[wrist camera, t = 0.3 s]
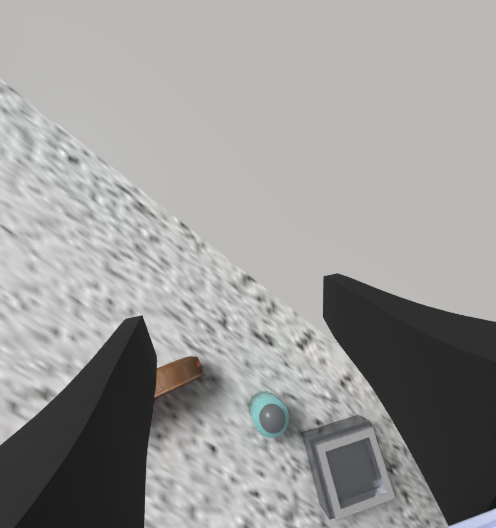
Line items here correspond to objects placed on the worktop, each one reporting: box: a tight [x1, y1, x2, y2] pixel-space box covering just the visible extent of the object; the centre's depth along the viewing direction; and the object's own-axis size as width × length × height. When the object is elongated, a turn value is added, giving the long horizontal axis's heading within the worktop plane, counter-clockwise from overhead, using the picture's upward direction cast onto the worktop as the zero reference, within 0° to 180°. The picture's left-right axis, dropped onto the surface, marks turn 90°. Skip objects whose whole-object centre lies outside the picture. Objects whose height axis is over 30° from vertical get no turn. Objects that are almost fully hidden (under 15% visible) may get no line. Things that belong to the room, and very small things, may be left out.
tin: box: [154, 356, 205, 399], centre depth 31 cm, size 15×3×8 cm, turn 114°
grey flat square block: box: [302, 415, 395, 521], centre depth 33 cm, size 8×8×4 cm
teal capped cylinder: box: [249, 391, 289, 438], centre depth 33 cm, size 4×4×6 cm
